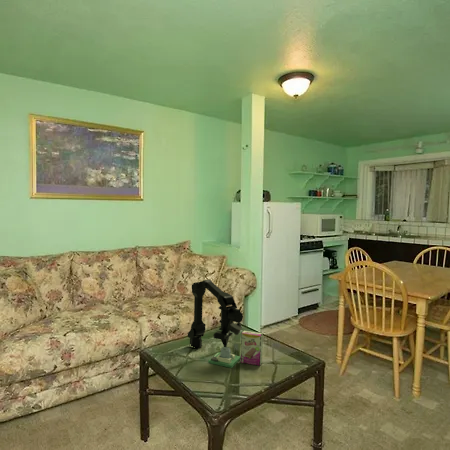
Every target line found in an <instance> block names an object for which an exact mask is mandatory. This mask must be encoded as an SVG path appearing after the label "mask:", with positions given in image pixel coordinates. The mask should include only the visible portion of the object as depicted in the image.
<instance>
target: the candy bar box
mask: <svg viewBox="0 0 450 450" xmlns="http://www.w3.org/2000/svg"><path fill="white" fill-rule="evenodd" d="M240 333H241V335H240V356H241V359H240V363H242V364H245V365H246V364H248V365H253V366H257V367H258V366H259V367H260V366H261V365H262V363H263V347H264V346H263V343H264V342H263V341H264V340H263V339H264V337H263V336H264V333H263V332H257V331H250V330H242V332H240Z"/></svg>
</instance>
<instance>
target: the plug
mask: <svg viewBox="0 0 450 450" xmlns="http://www.w3.org/2000/svg"><path fill="white" fill-rule="evenodd" d="M220 352H221V357H222V358H227V359H230V358H231V354H232V350H231V347H230V346H227V347H224V346H222V347H221V348H220Z"/></svg>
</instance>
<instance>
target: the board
mask: <svg viewBox="0 0 450 450" xmlns="http://www.w3.org/2000/svg"><path fill="white" fill-rule="evenodd" d="M240 361H241V355H237V354H233V353H231V358H230V359H227V358H222V357H221V351H220V352H219V351H218V352H216V353H215V354H214V355H213V356H212V357H210V358H209V359H208V361H207V363H208V364H210V365H211V364H212V365H216V366H221V367H224V368H225V367H226V368H231V369H233V368H234V367H235V366H236V364H238V362H240Z"/></svg>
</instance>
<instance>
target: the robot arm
mask: <svg viewBox="0 0 450 450" xmlns="http://www.w3.org/2000/svg"><path fill="white" fill-rule="evenodd" d="M206 290H207V291H208V292H210V293H211V294H212V296H214V297H215V298H216V299H217V303H218V304H219V305H220V306H219V307H218V310H220V320H219V323H220V327H219V328H218V330H217V331H216V332H214V333H213V338H214V339H215V340H216V339H217V340H221V342H222V345H223V347H228V342H229V339H230V336H232V335H233V334H234V335H236V336H238V335H239V334H240V333H241V330H242V329H243V328H242V323H241V322H242V321H243V319H244V315H243V313H242V312H241V309H240V308H238V306H237V304H236V301H235V299H234V296H233V295H231V294H230V293H228V292H225V291H223V290H222V289H221V288H219V287H218V286H217V285H216V284H215V283H214V282H213V281H212V280H211V279H204V280H202V281H196V282H193V283H192V284H191V293H192V295H193V296H194V299H193V300H194V301H193V302H194V306H193V310H194V311H193V321H192V323H191V326H190V330H189V331H188V332H187V337H188V338H189V345H190V344H191V346H193V347H195V348H196V349H195V350H199V349H201V348H202V347H203V339H202V337H204V335H205V332H206V323H204V321H203V306H204V305H203V304H204V303H203V301H204V300H203V297H204V295H206V294H205V293H206ZM201 346H202V347H201ZM198 348H199V349H198Z"/></svg>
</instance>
